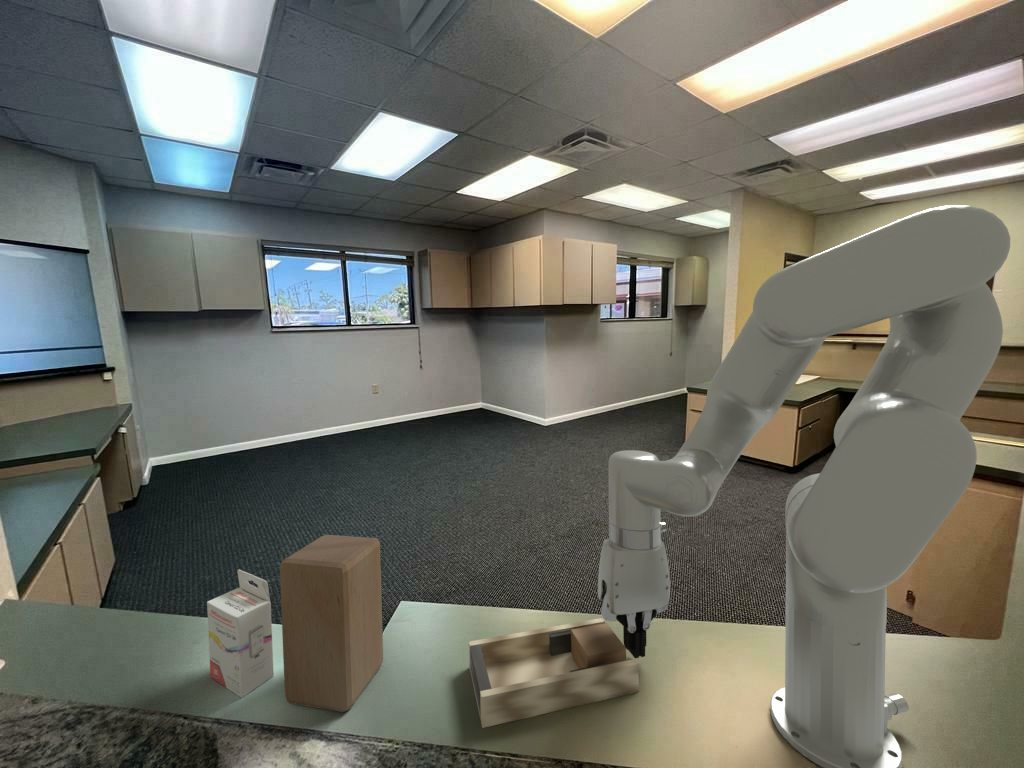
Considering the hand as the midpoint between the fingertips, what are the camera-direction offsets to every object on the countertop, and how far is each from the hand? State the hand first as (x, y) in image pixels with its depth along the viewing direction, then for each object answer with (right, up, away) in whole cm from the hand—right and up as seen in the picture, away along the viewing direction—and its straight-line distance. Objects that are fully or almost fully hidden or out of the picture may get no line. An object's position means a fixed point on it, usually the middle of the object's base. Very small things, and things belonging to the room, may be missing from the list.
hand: (634, 651), depth 63 cm
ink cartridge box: (-59, -3, -2) cm, 59 cm away
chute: (-13, -2, -3) cm, 14 cm away
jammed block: (-6, -2, -2) cm, 6 cm away
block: (-44, -3, -3) cm, 44 cm away
